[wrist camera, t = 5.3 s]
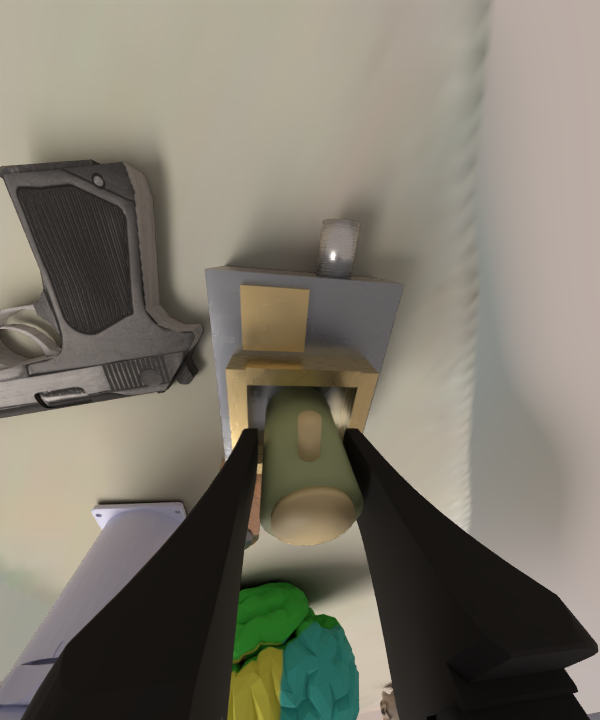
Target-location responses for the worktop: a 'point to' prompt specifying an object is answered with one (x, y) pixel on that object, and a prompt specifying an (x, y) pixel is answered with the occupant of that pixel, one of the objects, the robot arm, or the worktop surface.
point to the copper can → (253, 513)
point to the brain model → (290, 660)
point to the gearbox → (299, 335)
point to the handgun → (91, 291)
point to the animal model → (388, 706)
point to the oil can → (305, 471)
